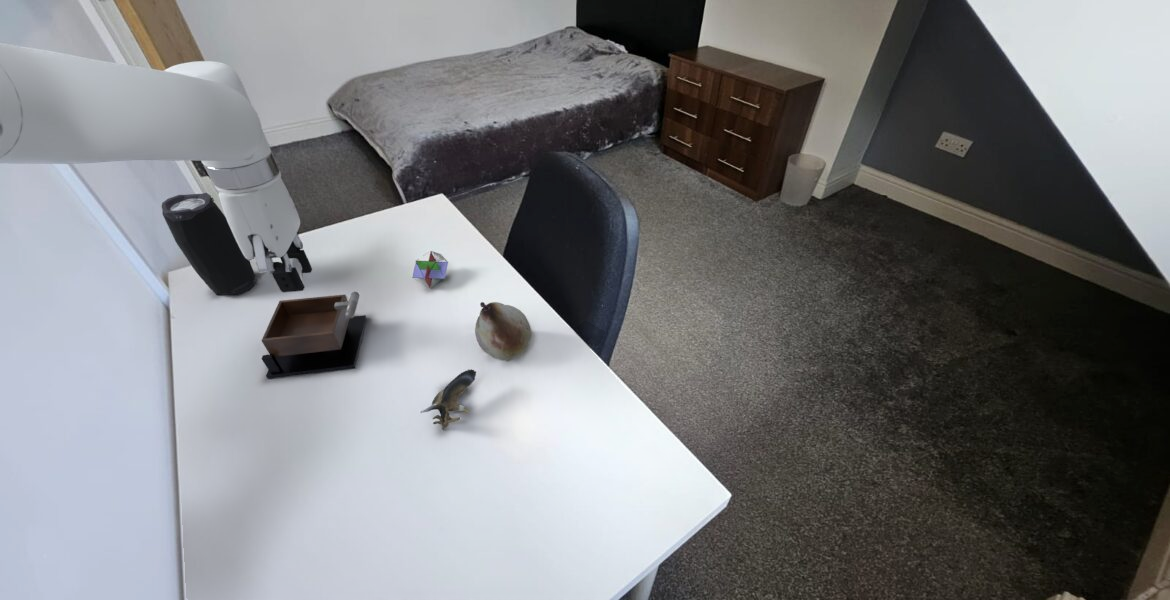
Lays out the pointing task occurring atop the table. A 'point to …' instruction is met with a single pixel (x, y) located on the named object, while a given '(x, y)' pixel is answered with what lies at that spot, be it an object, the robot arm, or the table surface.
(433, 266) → the geometric puzzle
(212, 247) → the portable speaker
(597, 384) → the table surface
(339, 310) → the open drawer
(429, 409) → the eagle figurine
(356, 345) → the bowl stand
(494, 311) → the fruit
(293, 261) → the smartwatch
